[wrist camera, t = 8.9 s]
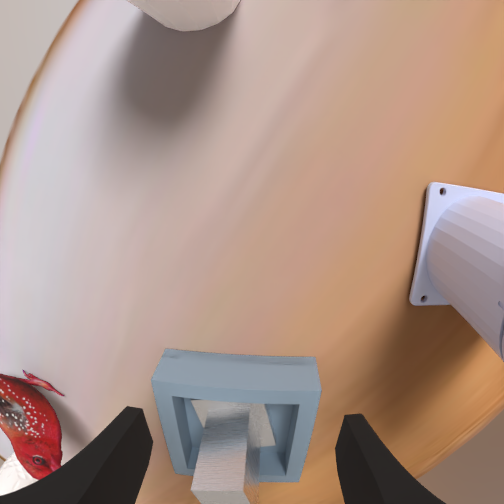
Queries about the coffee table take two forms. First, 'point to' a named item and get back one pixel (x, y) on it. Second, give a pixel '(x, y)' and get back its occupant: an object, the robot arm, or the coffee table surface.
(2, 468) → the white cup
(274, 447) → the slate well
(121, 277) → the coffee table surface
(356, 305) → the coffee table surface
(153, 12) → the off-white tapered cylinder
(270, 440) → the grey t-shaped bar
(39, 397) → the decorative bird figurine
